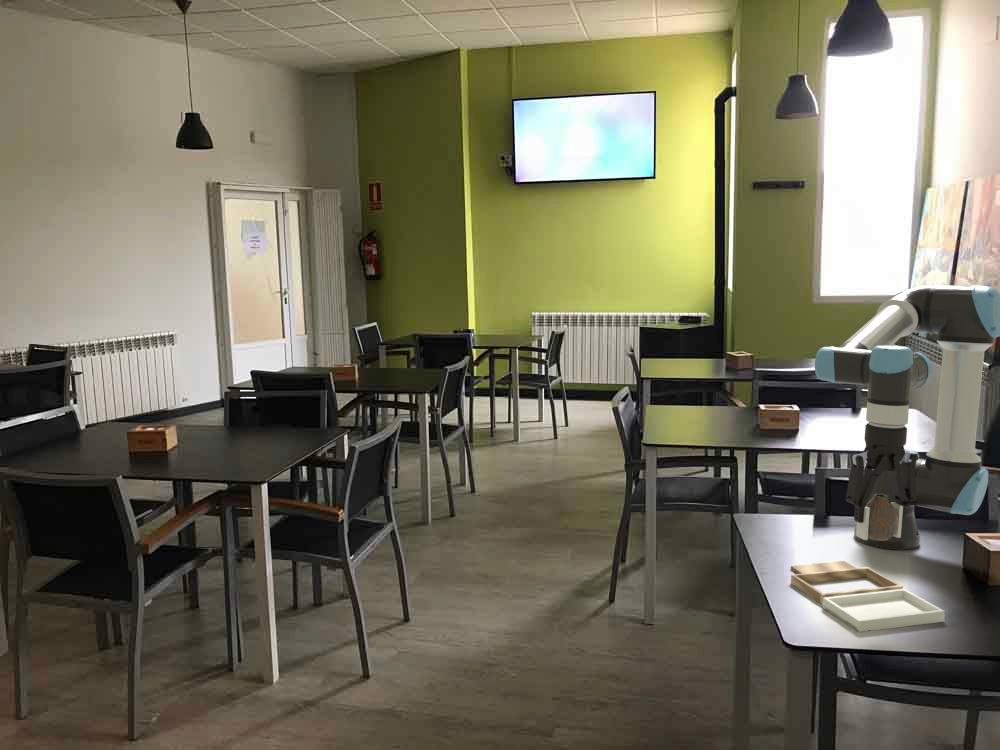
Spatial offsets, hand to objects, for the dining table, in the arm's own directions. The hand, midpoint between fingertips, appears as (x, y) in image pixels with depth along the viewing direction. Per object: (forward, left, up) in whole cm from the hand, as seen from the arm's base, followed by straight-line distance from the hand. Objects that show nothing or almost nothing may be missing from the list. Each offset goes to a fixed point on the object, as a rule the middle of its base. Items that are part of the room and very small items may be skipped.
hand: (878, 536), depth 168 cm
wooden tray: (-1, -11, -16) cm, 19 cm away
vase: (0, 0, -1) cm, 1 cm away
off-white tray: (0, +2, -16) cm, 16 cm away
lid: (-3, -21, -16) cm, 26 cm away
